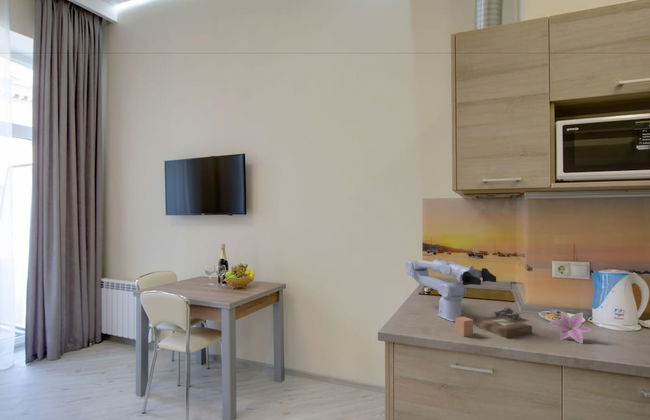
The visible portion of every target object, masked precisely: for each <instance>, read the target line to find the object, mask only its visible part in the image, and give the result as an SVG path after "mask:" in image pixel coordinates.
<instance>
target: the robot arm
mask: <svg viewBox="0 0 650 420" xmlns="http://www.w3.org/2000/svg"><path fill="white" fill-rule="evenodd" d="M429 269H431V270H432V271H433V272H434V273H438V274H442V275H443V276H447V275H448V276H451V277H454V278H456V280H457V281H458V282H448V281H445V280H442V279H439V278H436V277H433V276H429V275H430V273H429ZM405 270H406V273H407V275H409V276H411V277H412V278H413V280H415V281H416V283H418V284H419V285H421V286H425V287H427V288H430V289H433V290H435V291H438V294H440V295H441V297H440V299H439V302H438V314H436V316H438V317H439V318H441V319H444V320H447V321H449V322H455V318H457V317H462V300H463V299H464V297H465V296H466V294H467V288H466V286H469V285H474V286H481V285H482V282H483V283H484V282H491V283H497V276H495V274H492V273H491V272H490V271H489V269H488V268H485V267H484V268H482V267H481V269H477V268H475V267H474V265H469V266H464V265H461V264H458V263H457V262H456V261H454V260H453V261H447V260H445V259H444V260H441V259H440V258H436V259H434V260H433V261H431V260H427V259H422V260H421V259H420V260H419V259H418V260H407V261H406V263H405Z"/></svg>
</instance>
